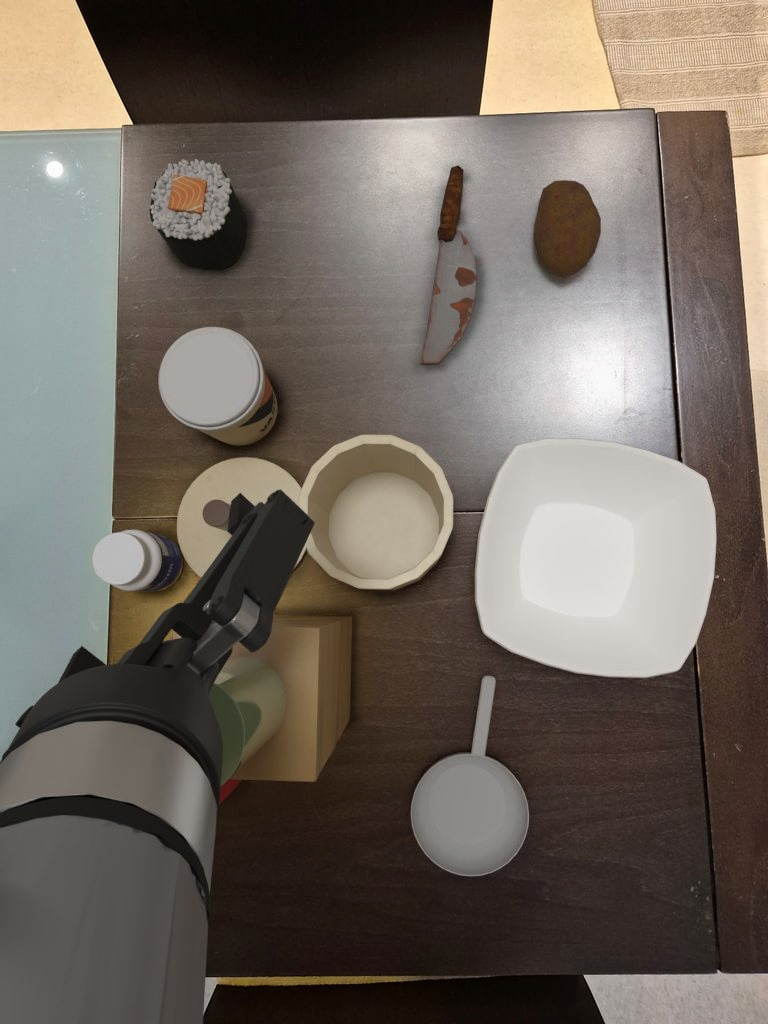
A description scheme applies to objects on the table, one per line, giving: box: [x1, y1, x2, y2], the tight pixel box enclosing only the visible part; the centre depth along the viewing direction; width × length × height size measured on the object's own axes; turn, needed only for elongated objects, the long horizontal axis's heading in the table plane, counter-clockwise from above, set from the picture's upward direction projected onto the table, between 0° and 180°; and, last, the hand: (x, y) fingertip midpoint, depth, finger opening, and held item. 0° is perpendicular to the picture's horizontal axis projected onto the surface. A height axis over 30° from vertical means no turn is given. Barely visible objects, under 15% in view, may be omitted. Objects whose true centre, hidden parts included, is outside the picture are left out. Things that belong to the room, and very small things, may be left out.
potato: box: [533, 179, 602, 279], centre depth 73 cm, size 7×10×6 cm
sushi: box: [149, 158, 248, 271], centre depth 74 cm, size 8×8×8 cm
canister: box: [208, 656, 287, 786], centre depth 43 cm, size 6×6×12 cm
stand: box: [171, 614, 353, 783], centre depth 61 cm, size 10×10×24 cm
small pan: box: [410, 674, 530, 877], centre depth 69 cm, size 11×18×4 cm, turn 171°
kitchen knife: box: [419, 164, 478, 365], centre depth 76 cm, size 21×2×5 cm
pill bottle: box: [91, 529, 184, 592], centre depth 70 cm, size 6×6×10 cm
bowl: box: [474, 437, 718, 679], centre depth 68 cm, size 21×21×9 cm
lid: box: [176, 456, 307, 579], centre depth 69 cm, size 14×14×11 cm
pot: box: [298, 434, 454, 591], centre depth 67 cm, size 13×13×14 cm
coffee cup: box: [158, 326, 278, 447], centre depth 70 cm, size 9×9×12 cm
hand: (172, 588), depth 45 cm, fingers open, 13 cm apart
